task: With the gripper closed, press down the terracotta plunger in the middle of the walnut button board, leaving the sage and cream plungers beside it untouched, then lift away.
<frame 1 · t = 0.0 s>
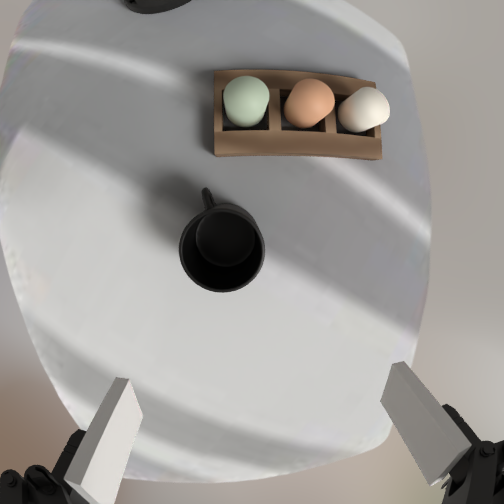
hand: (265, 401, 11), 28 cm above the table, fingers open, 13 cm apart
sage button: (245, 103, 29), point 5 cm above the table, slide at 0.0 cm
cream button: (362, 110, 29), point 6 cm above the table, slide at 0.0 cm
mug: (222, 228, 38), on the table
terracotta button: (307, 104, 29), point 5 cm above the table, slide at 0.0 cm
button board: (298, 115, 34), on the table
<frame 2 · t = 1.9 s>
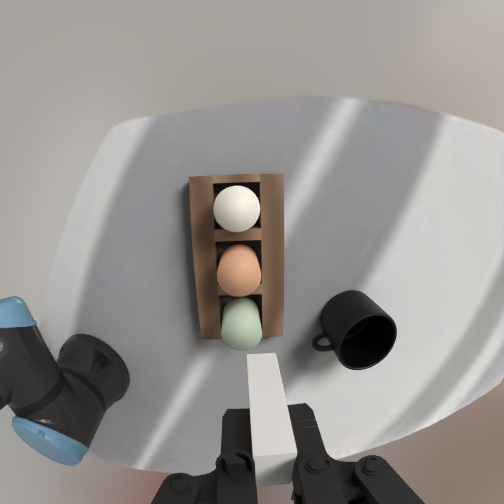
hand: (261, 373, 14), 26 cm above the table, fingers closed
sage button: (241, 322, 35), point 5 cm above the table, slide at 0.0 cm
cream button: (236, 207, 32), point 5 cm above the table, slide at 0.0 cm
mug: (339, 318, 42), on the table
terracotta button: (238, 268, 33), point 6 cm above the table, slide at 0.0 cm
button board: (238, 257, 39), on the table
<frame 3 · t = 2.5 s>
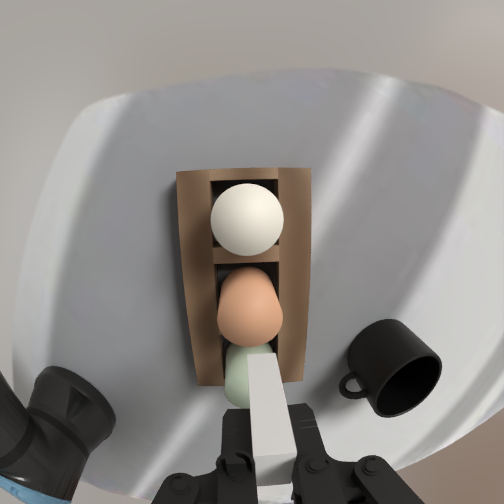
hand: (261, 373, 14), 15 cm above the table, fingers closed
sage button: (250, 371, 25), point 6 cm above the table, slide at 0.0 cm
cream button: (245, 215, 21), point 6 cm above the table, slide at 0.0 cm
mug: (369, 351, 32), on the table
terracotta button: (248, 303, 23), point 6 cm above the table, slide at 0.0 cm
button board: (246, 282, 28), on the table
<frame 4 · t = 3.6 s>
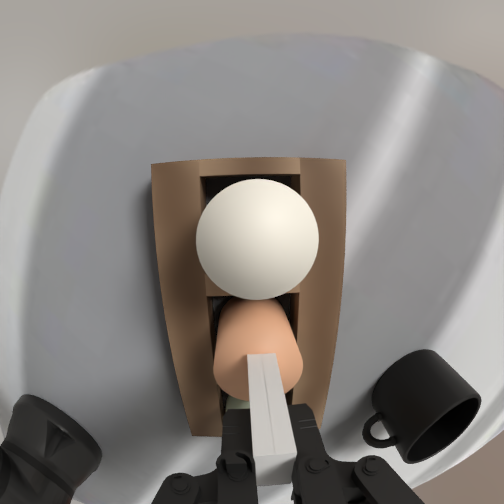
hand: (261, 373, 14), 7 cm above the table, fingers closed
sage button: (258, 430, 17), point 5 cm above the table, slide at 0.0 cm
cream button: (253, 230, 14), point 5 cm above the table, slide at 0.0 cm
mug: (396, 386, 24), on the table
terracotta button: (255, 343, 17), point 4 cm above the table, slide at 1.4 cm, touching gripper
button board: (252, 315, 21), on the table
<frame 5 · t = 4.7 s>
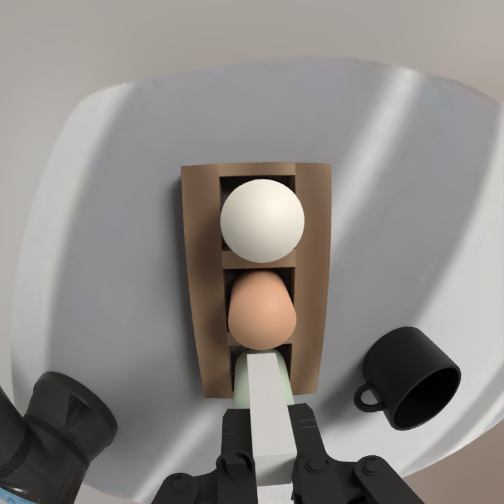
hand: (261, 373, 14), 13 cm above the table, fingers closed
sage button: (262, 385, 22), point 6 cm above the table, slide at 0.0 cm
cream button: (259, 216, 19), point 6 cm above the table, slide at 0.0 cm
mug: (385, 360, 29), on the table
terracotta button: (260, 305, 22), point 4 cm above the table, slide at 1.7 cm
button board: (258, 288, 26), on the table
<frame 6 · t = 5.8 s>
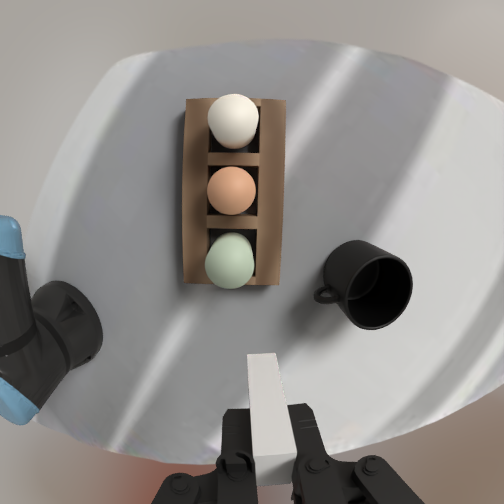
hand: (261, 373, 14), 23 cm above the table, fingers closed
sage button: (230, 258, 30), point 5 cm above the table, slide at 0.0 cm
cream button: (233, 123, 27), point 5 cm above the table, slide at 0.0 cm
mug: (344, 273, 37), on the table
terracotta button: (232, 190, 30), point 4 cm above the table, slide at 1.7 cm
button board: (233, 190, 34), on the table
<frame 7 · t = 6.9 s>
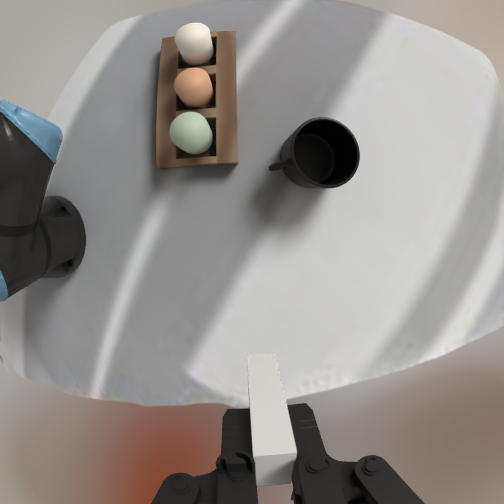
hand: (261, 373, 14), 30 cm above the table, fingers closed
sage button: (192, 134, 34), point 5 cm above the table, slide at 0.0 cm
cream button: (195, 44, 30), point 5 cm above the table, slide at 0.0 cm
mug: (301, 160, 41), on the table
terracotta button: (195, 89, 34), point 4 cm above the table, slide at 1.7 cm
button board: (198, 97, 37), on the table
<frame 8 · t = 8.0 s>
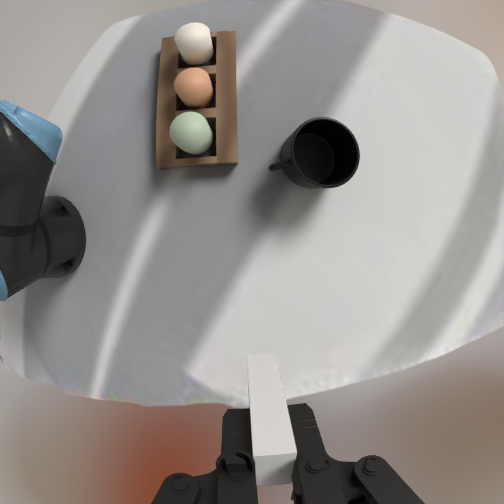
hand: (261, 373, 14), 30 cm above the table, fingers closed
sage button: (192, 134, 34), point 5 cm above the table, slide at 0.0 cm
cream button: (194, 44, 30), point 6 cm above the table, slide at 0.0 cm
mug: (301, 160, 41), on the table
terracotta button: (195, 89, 34), point 4 cm above the table, slide at 1.7 cm
button board: (198, 97, 37), on the table
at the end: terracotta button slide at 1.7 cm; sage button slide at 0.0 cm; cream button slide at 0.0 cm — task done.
